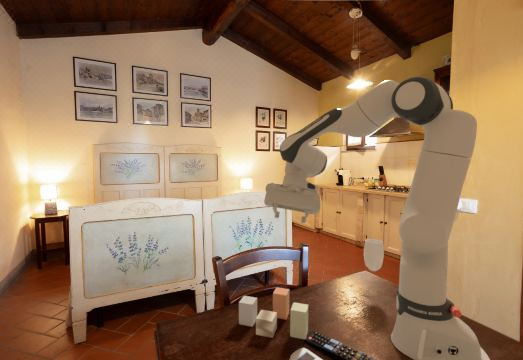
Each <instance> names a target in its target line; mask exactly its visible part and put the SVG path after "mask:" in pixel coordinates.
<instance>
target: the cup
mask: <svg viewBox="0 0 523 360" xmlns="http://www.w3.org/2000/svg"><path fill="white" fill-rule="evenodd" d="M384 258H385V247H384V242H383V241H382V240H381V239H377V238H366V239H365V241H364V246H363V260H364V261H363V262H364V265H365V267H366V268H368V270H369V271H371V272H377V271H378V270H380V269H381V268H382V266H383V262H384Z"/></svg>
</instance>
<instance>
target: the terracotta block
mask: <svg viewBox="0 0 523 360" xmlns="http://www.w3.org/2000/svg"><path fill="white" fill-rule="evenodd" d="M272 312H277V319H281V320H287V318H288V316H289V315H290V288H282V287H276V288H275V289H274V290H273V293H272Z"/></svg>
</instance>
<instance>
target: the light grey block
mask: <svg viewBox="0 0 523 360" xmlns="http://www.w3.org/2000/svg"><path fill="white" fill-rule="evenodd" d="M257 316H258V297H254V296H248V295H243V296H242V298H241V299H240V300H239V301H238V325H241V326H247V327H253V326H254V325H255V324H256V317H257Z"/></svg>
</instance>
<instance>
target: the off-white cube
mask: <svg viewBox="0 0 523 360" xmlns="http://www.w3.org/2000/svg"><path fill="white" fill-rule="evenodd" d="M277 329H278V318H277V312H273V310H272V311H271V310H266V309H260V311H259V313H257V317H256V322H255V335H257V336H261V337H266V338H270V339H271V338H273V337H274V336H275V333H276V330H277Z"/></svg>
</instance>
